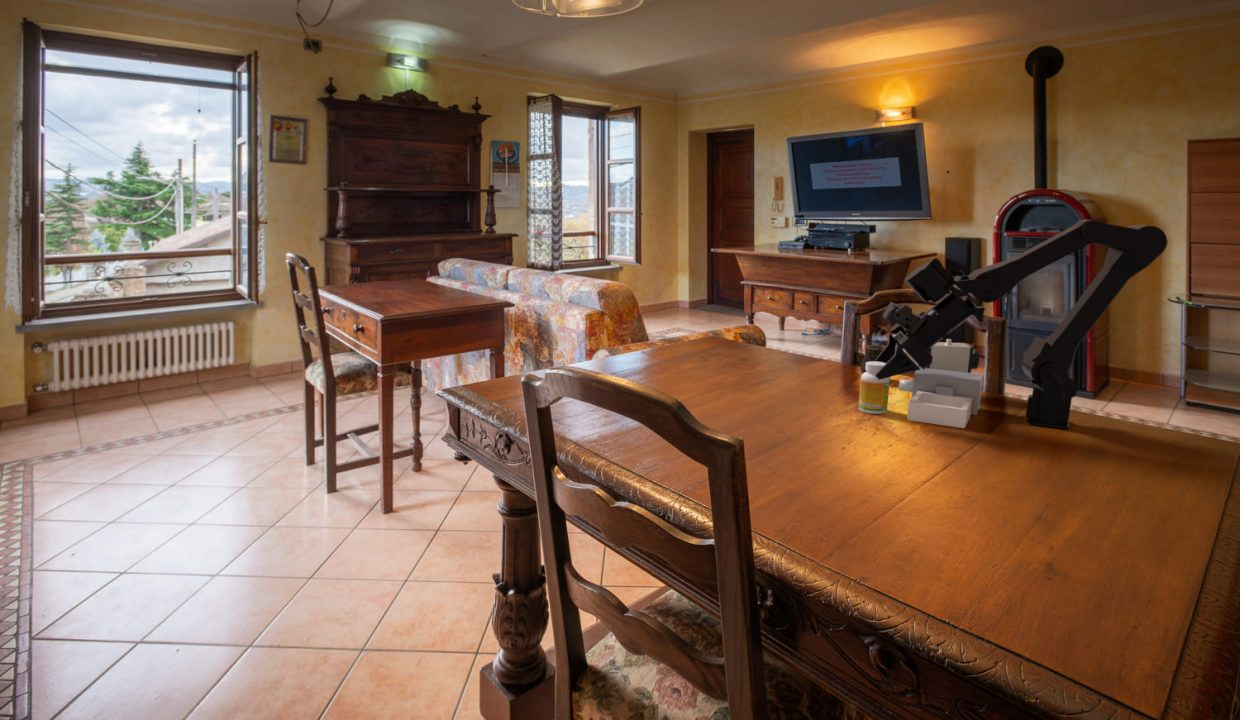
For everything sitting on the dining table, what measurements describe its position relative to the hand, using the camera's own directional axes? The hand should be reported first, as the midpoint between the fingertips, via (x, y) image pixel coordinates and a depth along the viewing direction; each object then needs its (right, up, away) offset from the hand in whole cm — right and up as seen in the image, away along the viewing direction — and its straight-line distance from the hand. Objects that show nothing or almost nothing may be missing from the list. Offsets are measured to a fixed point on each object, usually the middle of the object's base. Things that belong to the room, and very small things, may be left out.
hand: (874, 372), depth 139 cm
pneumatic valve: (+21, -5, +16) cm, 26 cm away
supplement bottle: (0, -8, +2) cm, 8 cm away
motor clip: (+12, -8, +1) cm, 14 cm away
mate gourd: (+10, -3, +27) cm, 29 cm away
